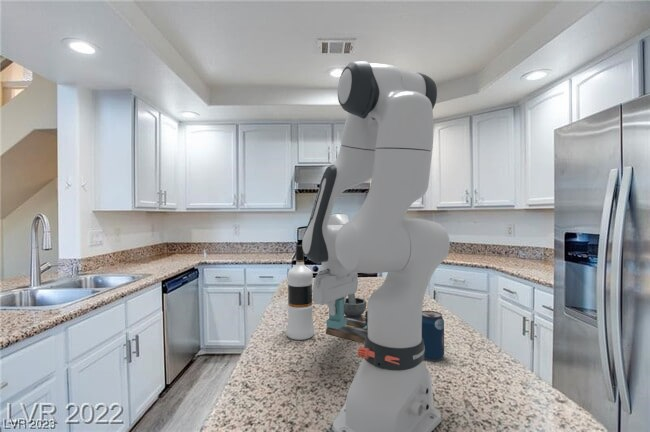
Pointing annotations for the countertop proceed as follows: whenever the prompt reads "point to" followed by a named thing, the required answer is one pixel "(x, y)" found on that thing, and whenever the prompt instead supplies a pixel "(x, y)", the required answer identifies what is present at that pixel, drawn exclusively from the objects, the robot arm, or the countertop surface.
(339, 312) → the teal t-block
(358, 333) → the rail
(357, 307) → the mortar and pestle
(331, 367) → the countertop surface
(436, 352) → the soda can
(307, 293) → the vodka
